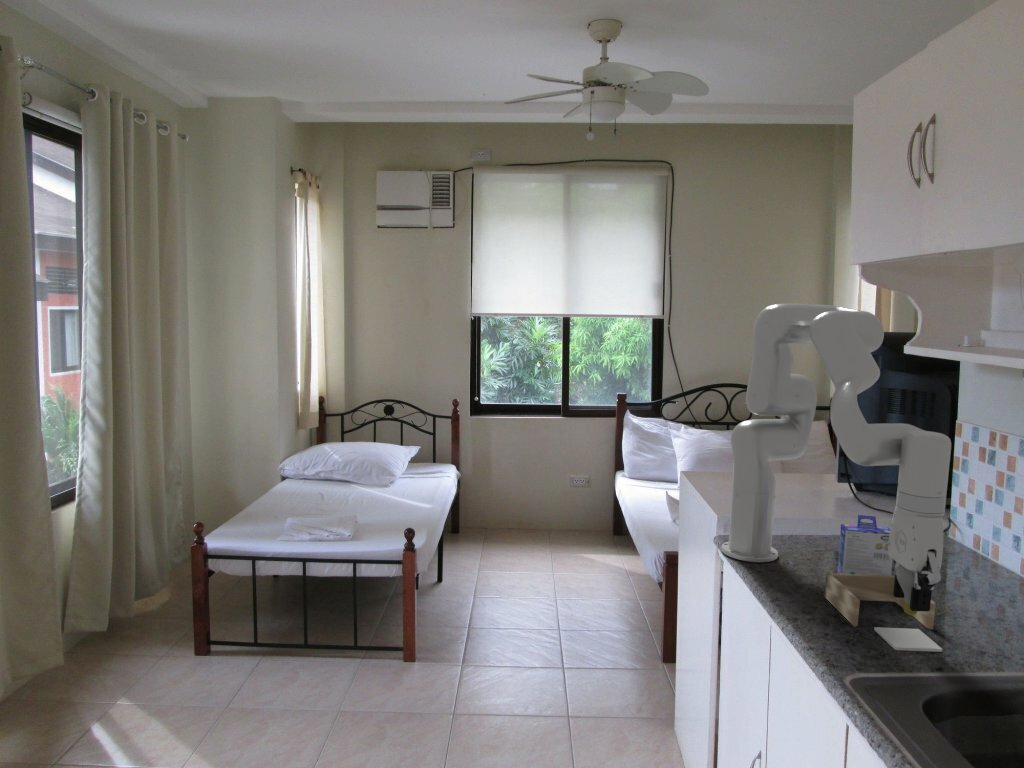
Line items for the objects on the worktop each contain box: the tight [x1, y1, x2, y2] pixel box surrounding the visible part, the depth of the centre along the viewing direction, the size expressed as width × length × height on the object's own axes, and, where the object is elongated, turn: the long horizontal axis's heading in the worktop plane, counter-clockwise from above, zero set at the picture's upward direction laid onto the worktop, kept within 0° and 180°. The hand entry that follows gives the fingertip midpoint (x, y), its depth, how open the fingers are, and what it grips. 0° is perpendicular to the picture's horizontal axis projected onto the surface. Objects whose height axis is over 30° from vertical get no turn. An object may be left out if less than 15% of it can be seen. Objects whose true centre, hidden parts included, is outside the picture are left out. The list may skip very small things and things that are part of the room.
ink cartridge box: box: [837, 514, 893, 576], centre depth 163 cm, size 10×6×14 cm, turn 78°
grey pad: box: [873, 626, 943, 653], centre depth 137 cm, size 8×8×1 cm
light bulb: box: [895, 565, 927, 616], centre depth 136 cm, size 6×6×10 cm
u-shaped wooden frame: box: [824, 572, 936, 630], centre depth 149 cm, size 14×15×5 cm
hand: (911, 602), depth 136 cm, fingers closed on light bulb, 5 cm apart
